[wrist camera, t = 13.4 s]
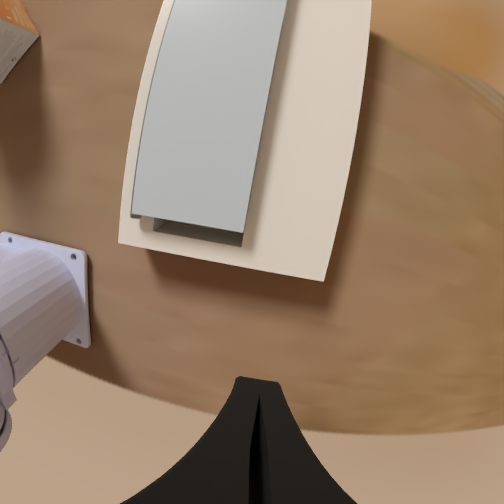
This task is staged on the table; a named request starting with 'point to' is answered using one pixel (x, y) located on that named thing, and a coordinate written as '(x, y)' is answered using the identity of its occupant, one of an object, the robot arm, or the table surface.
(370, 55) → the table surface
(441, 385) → the table surface
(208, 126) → the cover
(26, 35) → the small box
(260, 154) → the white sliding drawer case
